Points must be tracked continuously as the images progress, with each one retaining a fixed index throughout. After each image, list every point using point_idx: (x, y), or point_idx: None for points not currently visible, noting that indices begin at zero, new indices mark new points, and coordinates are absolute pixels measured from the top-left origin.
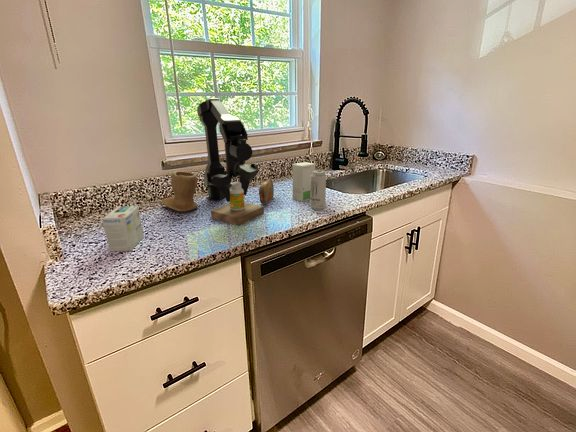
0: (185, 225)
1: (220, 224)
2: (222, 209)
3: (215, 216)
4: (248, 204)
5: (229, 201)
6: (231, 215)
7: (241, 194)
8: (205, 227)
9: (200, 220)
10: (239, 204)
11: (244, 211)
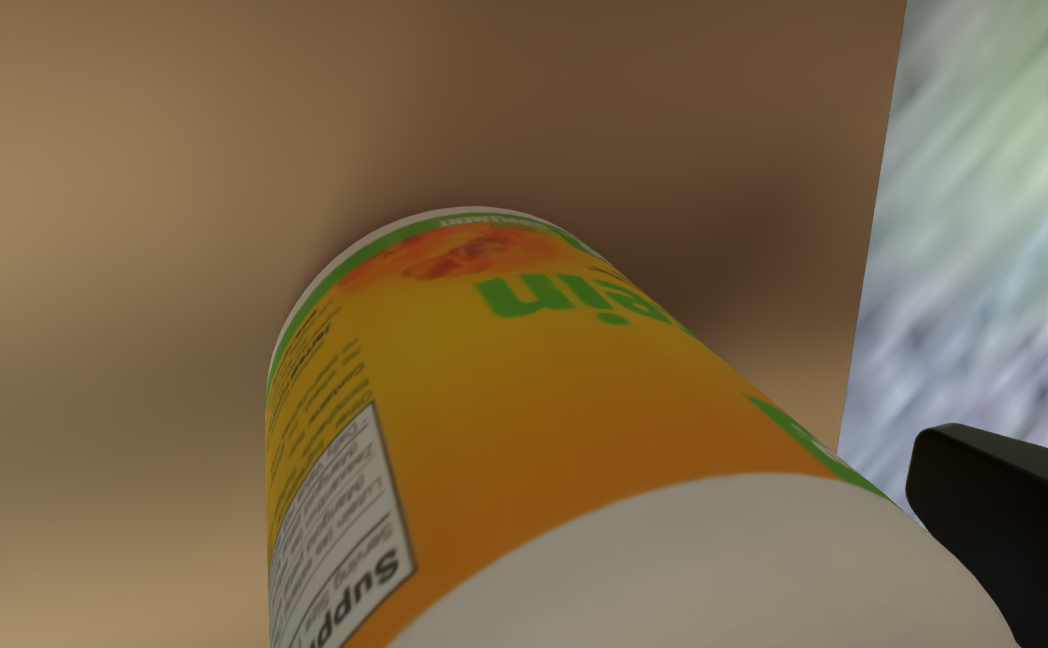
0: None
1: None
2: None
3: None
4: (10, 418)
5: (943, 427)
6: (878, 115)
7: (678, 440)
8: (1014, 293)
9: None
10: (611, 271)
11: (526, 53)
